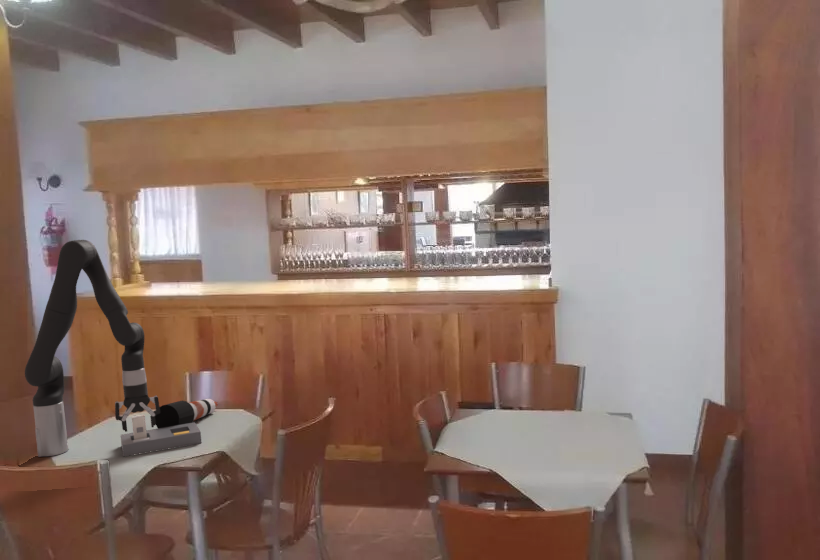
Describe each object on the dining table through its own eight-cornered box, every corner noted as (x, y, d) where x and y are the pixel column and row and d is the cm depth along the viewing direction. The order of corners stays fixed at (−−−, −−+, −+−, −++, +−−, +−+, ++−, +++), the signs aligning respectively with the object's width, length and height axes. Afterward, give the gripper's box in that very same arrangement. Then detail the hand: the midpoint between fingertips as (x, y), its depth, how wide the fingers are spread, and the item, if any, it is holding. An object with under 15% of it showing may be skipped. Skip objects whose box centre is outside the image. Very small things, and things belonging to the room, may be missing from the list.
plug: (135, 451, 247) (132, 419, 246) (134, 447, 251) (131, 416, 250) (148, 449, 249) (145, 417, 248) (147, 445, 253) (144, 414, 252)
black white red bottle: (221, 421, 296) (230, 398, 295) (172, 438, 263) (183, 412, 262) (200, 409, 298) (210, 387, 297) (150, 424, 266) (160, 399, 265)
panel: (123, 457, 242) (122, 444, 241) (121, 446, 254) (120, 434, 254) (201, 443, 252) (200, 431, 251) (195, 433, 264) (194, 421, 264)
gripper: (112, 387, 242) (117, 435, 243) (157, 381, 248) (162, 428, 249) (111, 383, 249) (116, 430, 250) (155, 377, 255) (160, 422, 256)
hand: (139, 429), depth 250 cm, fingers open, 8 cm apart
